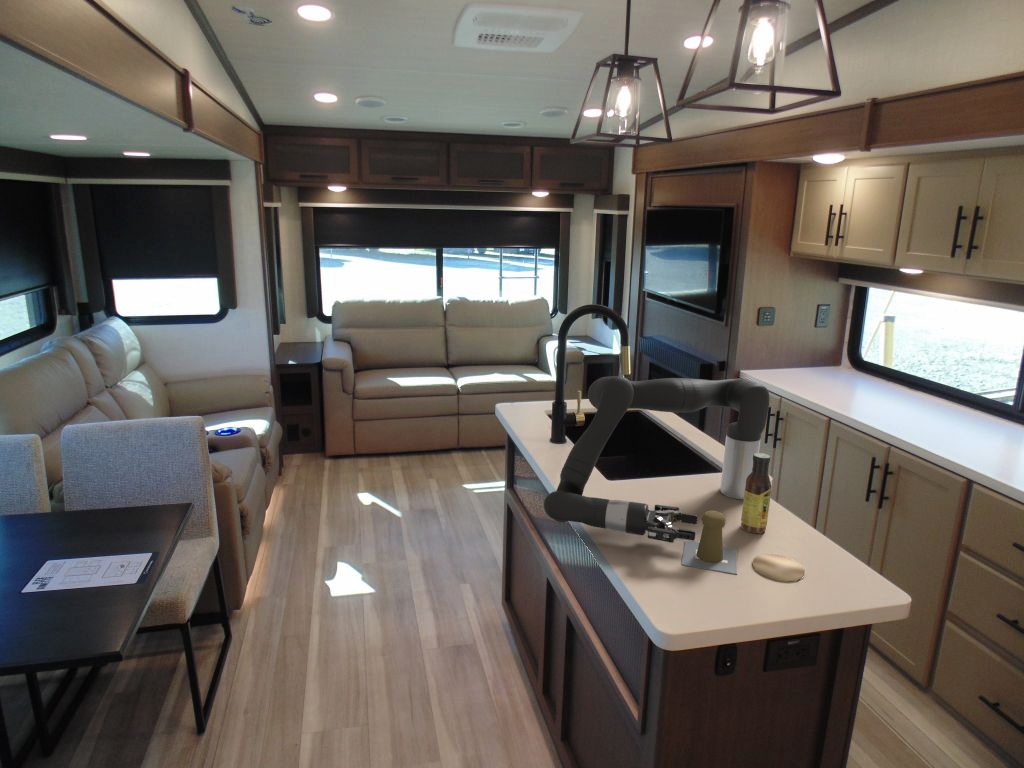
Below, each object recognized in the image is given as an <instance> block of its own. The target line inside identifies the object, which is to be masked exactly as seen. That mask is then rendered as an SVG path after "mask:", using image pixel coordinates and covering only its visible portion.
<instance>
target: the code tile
mask: <svg viewBox="0 0 1024 768" xmlns="http://www.w3.org/2000/svg"><path fill="white" fill-rule="evenodd" d="M698 546H699V542H697V541H696V542H695V541H692V540H684V547H683V552H682V558H681V566H684V567H690V568H696V569H704V570H709V571H713V572H720V573H724V574H731V575H737V569H738V567H737V565H738V563H737V562H738V561H737V560H738V558H737V557H738V555H737V552H738V550H737V548H732V547H729V546H723V560H722V561H721V562H718V563H709V562H705V561H703V560H701V559H699V558H698V557H697V550H698Z"/></svg>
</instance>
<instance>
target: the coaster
mask: <svg viewBox="0 0 1024 768" xmlns="http://www.w3.org/2000/svg"><path fill="white" fill-rule="evenodd" d="M752 559H753V560H752V567H753V569H754V570H755V572H757V573H758V572H759V573H758V574H760V575H761V576H763V577H765V576H766V578H768V579H769V580H770V579H771V580H773V581H779V582H785V581H786V582H787V583H788V582H789V581H793V582H797V581H796V580H798V581H800V580H802V579H803V578H804V577H805V568H804V566H803V565H801V563H799V562H797V560H795V559H792V558H790V557H787V556H784V555H779V554H773V553H769V554H768V553H765V554H759V555H757V556H755V557H754V558H752ZM803 576H804V577H803ZM802 577H803V578H802ZM801 578H802V579H801ZM799 579H800V580H799ZM786 582H785V583H786ZM789 583H790V582H789Z"/></svg>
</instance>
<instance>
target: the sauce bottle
mask: <svg viewBox="0 0 1024 768" xmlns="http://www.w3.org/2000/svg"><path fill="white" fill-rule="evenodd" d="M770 462H771V455H769V454H767V453H764V452H759V453H755V454H754V455H753V468H752V472H751V473H750V475H749V476H748V477H747V479H746V487H745V491H744V499H742V500H743V501H742V512H741V518H740V522H741V523H740V526H741V529H742V530H744V531H745V532H747V533H752V534H762V533H765V532H766V530H767V526H768V518H769V511H770V502H771V495H772V488H773V487H772V483H771V480H770V475H769V466H770Z"/></svg>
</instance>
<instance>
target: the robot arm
mask: <svg viewBox="0 0 1024 768" xmlns="http://www.w3.org/2000/svg"><path fill="white" fill-rule="evenodd" d="M587 399H588V401H589V403H590V404H591V405H592V406H593V408H594V409H596V412H595V414H594V417H593V418H592V421H591V423H589V425H588V427H587V428H586V429H585V431H584V432H583V433H582V434H581V436H580V437H579V438H578V440H577V441H576V442H575V443H574V445H573V446H572V448H571V450H570V451H569V453H568V455H567V458H566V460H565V462H564V464H563V466H562V468H561V471H560V474H559V476H560V477H559V478H560V479H559V484H558V485H557V488H556V490H555V491H552V492H550V493H549V494H547V495H546V496H545V499H544V501H543V509H544V511H545V513H546V515H547V516H548V517H549V518H550V519H552V520H554V521H555V522H558V523H567V522H575V523H581V524H584V525H587V526H589V527H592V528H593V527H594V528H600V529H606V530H610V531H613V532H618V533H623V534H629V535H630V534H631V535H637V536H645V535H646V532H647V537H646V538H648V539H650V540H656V541H660V542H665V543H671V544H673V543H675V542H674V541H675V540H678V539H679V540H680V539H681V540H685V541H691V542H694V541H695V539H696V531H695V530H693V529H688V528H687V529H686V528H679V527H676V526H674V525H673V524H675V523H680V522H681V523H683V524H684V523H685V524H690V525H691V524H692V525H697V524H698V518H699V516H698V515H697V514H693V513H692V514H691V513H686V512H682V511H681V510H680V507H677V506H671V505H661V504H654V508H653V510H650V509H649V505H648V504H647V503H641V502H635V501H629V500H621V499H608V498H607V499H606V498H600V497H590V496H585V495H583V493H584V490H585V487H586V484H588V481H589V479H590V477H591V475H592V472H593V470H594V468H595V467H596V464H597V462H598V460H599V457H600V455H601V454H602V451H603V450H604V448H605V446H606V444H607V443H608V441H609V439H610V437H611V436H612V434H613V432H614V430H615V429H616V427H617V426H618V424H619V422H621V420H622V418H623V417H624V415H625V414H626V413H627V410H629V409H630V410H631V409H632V410H633V409H636V410H637V409H638V410H645V411H656V412H664V413H693V412H694V413H695V412H697V411H700V410H702V409H705V408H706V407H720V408H721V407H723V408H728V409H732V410H734V411H736V412H738V416H737V417H738V418H737V421H736V422H731V423H729V424H728V425H727V426H726V433H725V434H726V435H725V444H724V453H723V462H722V473H721V480H720V481H721V482H720V493H721V494H722V495H724V497H728V498H731V499H737V500H744V491H745V487H746V479H747V477H748V476H749V475H750V473H751V472H752V468H753V455H754V454H755V453H760V449H761V448H760V447H761V441H762V440H761V439H762V435H763V432H764V430H765V428H766V425H767V420H768V413H769V408H770V392H769V390H768V388H767V387H766V386H765V385H763V384H761V383H759V382H756V381H753V380H750V379H748V378H744V377H743V378H741V377H739V378H738V377H737V378H729V379H720V380H719V379H718V380H715V379H714V380H710V379H702V378H689V377H688V378H687V377H685V378H684V377H682V378H681V377H669V378H668V377H665V378H655V379H648V380H647V379H646V380H629V379H628V378H626V377H624V376H620V375H613V376H611V375H610V376H609V375H608V376H602V377H600V378H599V377H598V378H597V379H596V380H595V381H593V382H592V384H591V385H590V386H589V388H588V391H587Z"/></svg>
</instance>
